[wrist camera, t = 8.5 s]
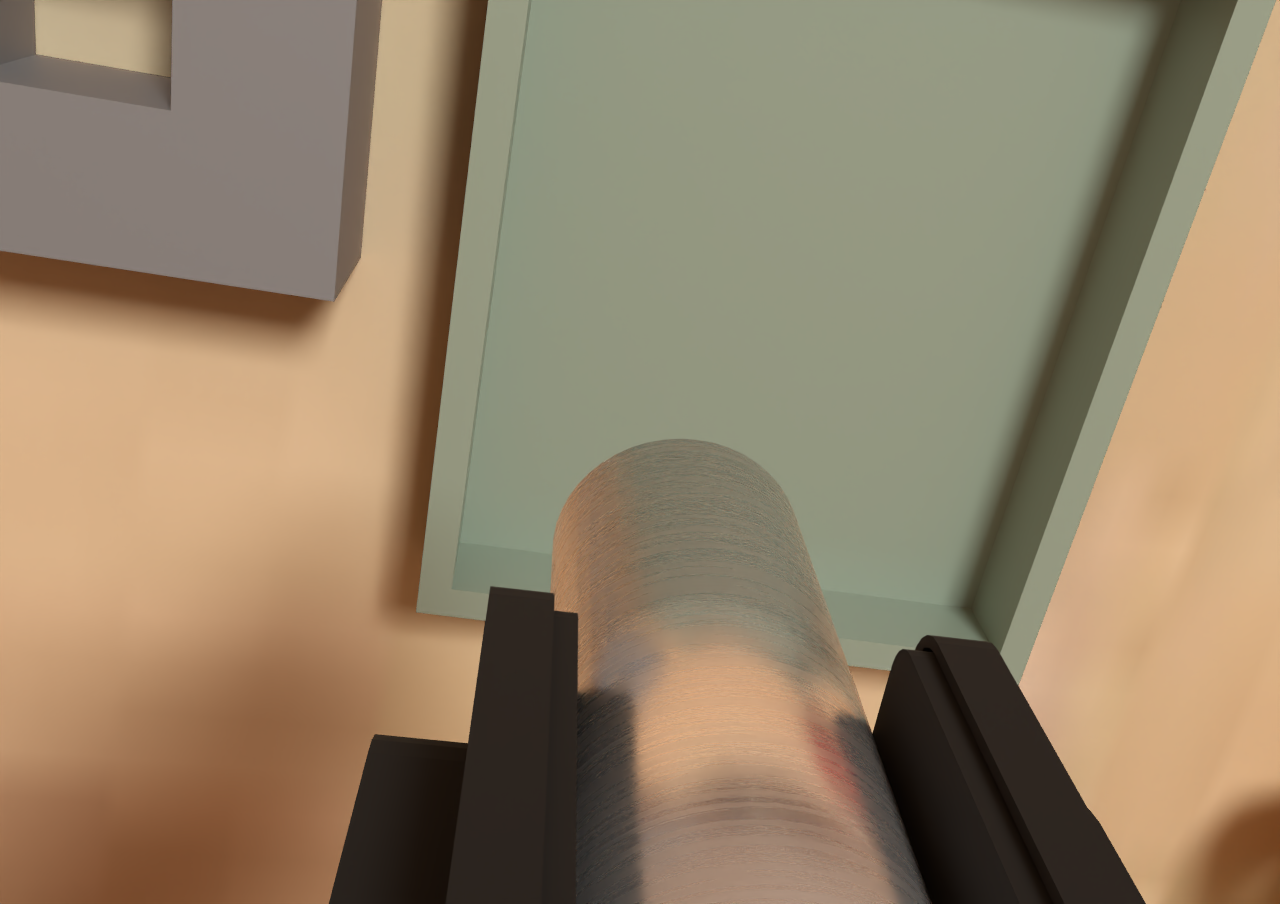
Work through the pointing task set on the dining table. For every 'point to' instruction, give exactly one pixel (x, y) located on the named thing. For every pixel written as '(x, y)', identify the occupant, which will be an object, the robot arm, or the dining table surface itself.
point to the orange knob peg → (715, 697)
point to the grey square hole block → (198, 147)
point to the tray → (824, 277)
